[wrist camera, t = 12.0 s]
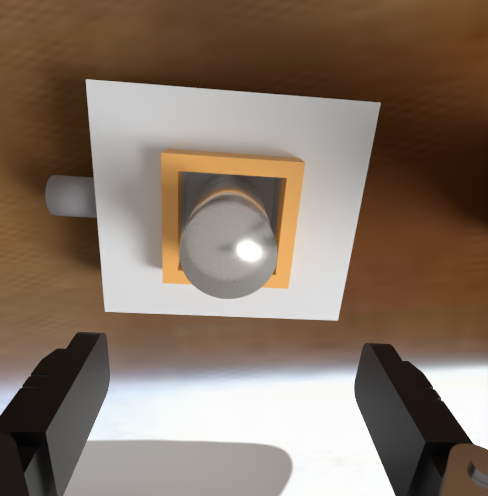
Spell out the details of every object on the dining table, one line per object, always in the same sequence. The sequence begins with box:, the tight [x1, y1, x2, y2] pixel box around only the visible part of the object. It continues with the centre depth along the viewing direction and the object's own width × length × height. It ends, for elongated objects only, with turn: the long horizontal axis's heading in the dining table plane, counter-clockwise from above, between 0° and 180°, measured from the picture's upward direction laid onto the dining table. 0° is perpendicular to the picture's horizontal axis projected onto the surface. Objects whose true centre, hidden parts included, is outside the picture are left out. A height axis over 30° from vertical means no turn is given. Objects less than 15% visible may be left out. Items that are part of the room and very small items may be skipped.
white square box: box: [45, 79, 381, 320], centre depth 27 cm, size 22×16×8 cm
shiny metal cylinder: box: [179, 174, 278, 299], centre depth 23 cm, size 5×5×10 cm
